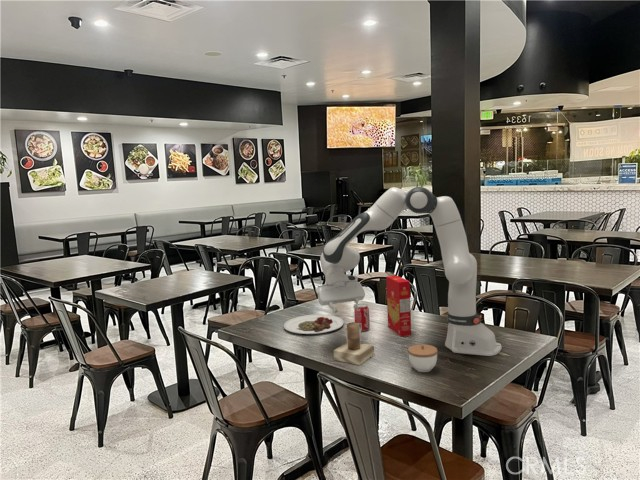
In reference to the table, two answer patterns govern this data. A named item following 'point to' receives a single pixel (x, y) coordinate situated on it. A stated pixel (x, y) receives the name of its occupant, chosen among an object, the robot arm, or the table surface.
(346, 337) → the shot glass
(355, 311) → the soda can
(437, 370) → the table surface
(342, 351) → the birch riser
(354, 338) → the walnut cylinder
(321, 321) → the plated food
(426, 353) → the lidded jar
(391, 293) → the food packaging
